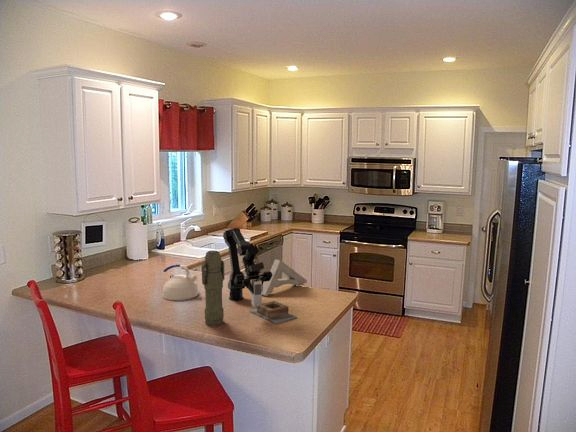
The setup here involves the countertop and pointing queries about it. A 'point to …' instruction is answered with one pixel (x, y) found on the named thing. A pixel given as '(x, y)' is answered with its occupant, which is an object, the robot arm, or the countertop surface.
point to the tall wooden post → (257, 292)
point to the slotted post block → (274, 312)
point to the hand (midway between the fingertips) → (257, 293)
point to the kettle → (180, 286)
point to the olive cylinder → (213, 287)
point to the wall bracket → (275, 282)
